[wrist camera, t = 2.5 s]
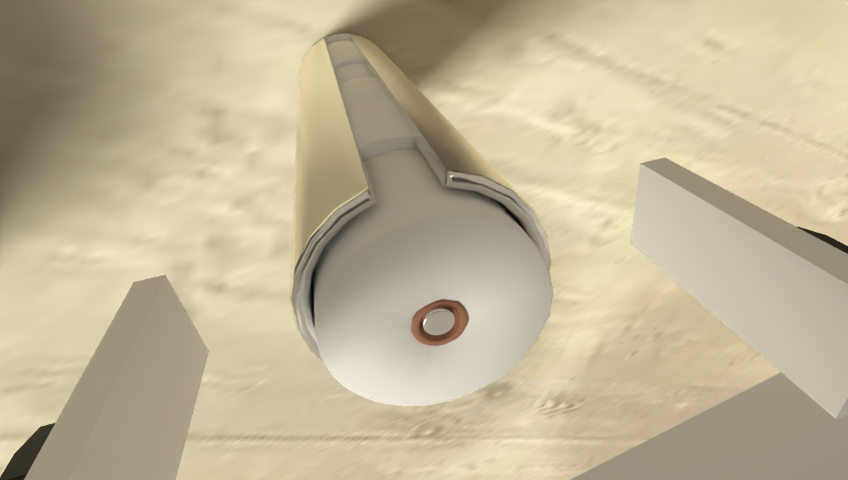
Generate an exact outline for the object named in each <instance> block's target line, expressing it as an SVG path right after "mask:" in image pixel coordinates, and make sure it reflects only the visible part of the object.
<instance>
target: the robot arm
mask: <svg viewBox="0 0 848 480" xmlns="http://www.w3.org/2000/svg"><path fill="white" fill-rule="evenodd" d="M630 244H631V245H632V246H634V247H635V248H636V249H637V250H638V251H639V252H641V253H642V254H643V255H644V256H645V257H646V258H648V259H649V260H650V261H651V262H652V263H653V264H655V265H656V266H657V267H658V268H659V269H661V270H662V271H663V272H664V273H665V274H666V275H668V276H669V277H670V278H671V279H672V280H673V281H675V282H676V283H677V284H678V285H679V286H681V287H682V288H683V289H684V290H685V291H686V292H688V293H689V294H690V295H691V296H692V297H693V298H695V299H696V300H697V301H698V302H699V303H700V304H702V305H703V306H704V307H705V308H706V309H708V310H709V311H710V312H711V313H712V314H713V315H715V316H716V317H717V318H718V319H719V320H720V321H722V322H723V323H724V324H725V325H726V326H727V327H729V328H730V329H731V330H732V331H733V332H735V333H736V334H737V335H738V336H739V337H740V338H742V339H743V340H744V341H745V342H746V343H747V344H749V345H750V346H751V347H752V348H753V349H754V350H756V351H757V352H758V353H759V354H760V355H762V356H763V357H764V358H765V359H766V360H767V361H769V362H770V363H771V364H772V365H773V366H774V367H776V368H777V369H778V370H779V371H780V372H781V373H783V374H784V375H785V376H786V377H787V378H789V379H790V380H791V381H792V382H793V383H795V384H796V385H797V386H798V387H799V388H800V389H802V390H803V391H804V392H805V393H806V394H807V395H808V396H810V397H811V398H812V399H813V400H814V401H816V402H817V403H818V404H819V405H820V406H821V407H823V408H824V409H825V410H826V411H827V412H828V413H830V414H831V415H832V416H833V417H834V418H836V419H837V418H840V417H843V416H846V415H848V246H846V245H844V244H842V243H840V242H839V241H837V240H835V239H833V238H831V237H829V236H827V235H824V234H820V233H817V232H814V231H811V230H807V229H804V228H801V227H795V226H794V225H792V224H790V223H788V222H786V221H784V220H782V219H780V218H778V217H776V216H775V215H773V214H771V213H769V212H767V211H765V210H763V209H761V208H759V207H758V206H756V205H754V204H752V203H750V202H748V201H746V200H744V199H742V198H740V197H739V196H737V195H735V194H733V193H731V192H729V191H727V190H725V189H723V188H722V187H720V186H718V185H716V184H714V183H712V182H710V181H708V180H706V179H704V178H703V177H701V176H699V175H697V174H695V173H693V172H691V171H689V170H687V169H686V168H684V167H682V166H680V165H678V164H676V163H674V162H672V161H670V160H668V159H667V158H662V159H658V160H653V161H649V162H645V163H641V165H640V172H639V180H638V188H637V196H636V203H635V211H634V219H633V227H632V234H631V242H630ZM208 352H209V351H208V349H207V347H206V346H205V344H204V342H203V340H202V339H201V337H200V335H199V333H198V332H197V330H196V328H195V326H194V325H193V323H192V321H191V319H190V317H189V316H188V314H187V312H186V310H185V309H184V307H183V305H182V303H181V302H180V300H179V298H178V296H177V295H176V293H175V291H174V289H173V288H172V286H171V284H170V282H169V281H168V279H167V277H166V275H163V276H159V277H154V278H150V279H146V280H141V281H137V282H134V283H133V285H132V286H131V288H130V290H129V292H128V294H127V295H126V297H125V299H124V301H123V303H122V304H121V306H120V308H119V310H118V312H117V313H116V315H115V317H114V319H113V321H112V322H111V324H110V326H109V328H108V330H107V331H106V333H105V335H104V337H103V339H102V340H101V342H100V344H99V346H98V348H97V349H96V351H95V353H94V355H93V357H92V358H91V360H90V362H89V364H88V366H87V367H86V369H85V371H84V373H83V375H82V376H81V378H80V380H79V382H78V384H77V385H76V387H75V389H74V391H73V393H72V394H71V396H70V398H69V400H68V402H67V403H66V405H65V407H64V409H63V410H62V412H61V414H60V416H59V418H58V419H57V421H56V423H53V424H49V425H46V426H42V427H40V428H39V429H38V430H37V431H36V432H35V433H34V434H33V435H32V436H31V437H30V438H29V439H28V440H27V441H26V442H25V443H24V444H23V446H22V447H21V448H20V449H19V450H18V451H17V452H16V453H15V454H14V456H13V457H12V459H11V460H10V462H9V464H8V465H7V467H6V469H5V470H4V472H3V474H2V475H1V477H0V480H175V479H176V475H177V471H178V467H179V464H180V460H181V456H182V452H183V448H184V444H185V440H186V437H187V433H188V429H189V425H190V421H191V417H192V414H193V410H194V406H195V402H196V398H197V394H198V390H199V387H200V383H201V379H202V375H203V371H204V367H205V364H206V360H207V356H208Z"/></svg>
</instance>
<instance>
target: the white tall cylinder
mask: <svg viewBox="0 0 848 480" xmlns="http://www.w3.org/2000/svg"><path fill="white" fill-rule="evenodd" d="M550 265H551V260H550V253H549V246H548V239H547V234H546V232H545V230H544V228H543V226H542V224H541V222H540V220H539V218H538V217H537V215H536V213H535V211H534V209H533V208H532V207H531V206H530V205H529V204H528V203H527V202H526V201H525V200H524V199H523V197H522V196H521V195H520V194H519V193H518V192H517V191H516V190H515V189H514V188H513V187H512V186H511V185H510V184H509V183H508V182H507V181H506V180H505V179H504V178H503V177H502V176H501V175H500V173H499V172H498V171H497V170H496V169H495V168H494V167H493V166H492V165H491V164H490V163H489V162H488V161H487V160H486V159H485V158H484V157H483V156H482V155H481V154H480V153H479V152H478V150H477V149H476V148H475V147H474V146H473V145H472V144H471V143H470V142H469V141H468V140H467V139H466V138H465V137H464V136H463V135H462V134H461V133H460V132H459V131H458V130H457V129H456V128H455V126H454V125H453V124H452V123H451V122H450V121H449V120H448V119H447V118H446V117H445V116H444V115H443V114H442V113H441V112H440V111H439V110H438V109H437V108H436V107H435V106H434V105H433V104H432V102H431V101H430V100H429V99H428V98H427V97H426V96H425V95H424V94H423V93H422V92H421V91H420V90H419V89H418V88H417V87H416V86H415V85H414V84H413V83H412V82H411V81H410V79H409V78H408V77H407V76H406V75H405V74H404V73H403V72H402V71H401V70H400V69H399V68H398V67H397V66H396V65H395V64H394V63H393V62H392V61H391V60H390V59H389V58H388V57H387V55H386V54H385V53H384V52H383V51H382V50H381V49H380V48H379V47H378V46H377V45H375V44H374V43H373V42H371V41H370V40H368V39H366V38H364V37H362V36H359V35H355V34H351V33H342V34H334V35H331V36H328V37H325V38H323V39H322V40H320V41H319V42H317V43H316V44H315V45H313V46H312V48H311V49H310V50H309V51H308V53H307V54H306V55H305V57H304V60H303V62H302V64H301V67H300V73H299V82H298V108H297V134H296V160H295V186H294V212H293V238H292V264H291V290H290V300H291V305H292V309H293V314H294V319H295V324H296V327H297V329H298V331H299V333H300V334H301V336H302V338H303V339H304V341H305V343H306V344H307V346H308V347H309V349H310V351H311V352H312V353H313V354H314V355H315V356H317V357H318V358H319V359H320V360H321V361H322V362H324V363H325V365H326V366H327V368H328V370H329V371H330V373H331V375H332V376H333V377H334V378H335V379H337V380H338V381H339V382H340V383H341V384H342V385H344V386H345V387H346V388H347V389H348V390H350V391H351V392H353V393H355V394H358V395H360V396H362V397H365V398H367V399H369V400H372V401H374V402H380V403H386V404H392V405H397V406H427V405H432V404H437V403H442V402H447V401H452V400H455V399H457V398H460V397H462V396H465V395H467V394H469V393H472V392H474V391H477V390H479V389H481V388H483V387H485V386H486V385H488V384H490V383H492V382H494V381H496V380H498V379H500V378H502V377H503V376H504V375H505V374H507V373H508V372H509V371H510V370H511V369H512V368H513V367H514V366H515V365H516V364H517V363H518V362H520V361H521V360H522V359H523V357H524V356H525V354H526V353H527V352H528V350H529V349H530V347H531V346H532V345H533V343H534V342H535V340H536V339H537V338H538V336H539V334H540V332H541V330H542V329H543V327H544V325H545V323H546V321H547V319H548V317H549V315H550V309H551V303H552V297H553V288H552V283H551V277H550V272H549V271H550Z"/></svg>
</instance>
